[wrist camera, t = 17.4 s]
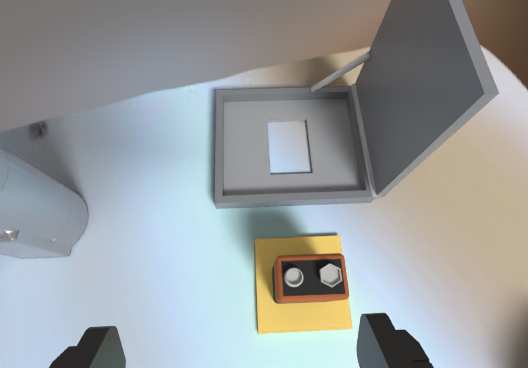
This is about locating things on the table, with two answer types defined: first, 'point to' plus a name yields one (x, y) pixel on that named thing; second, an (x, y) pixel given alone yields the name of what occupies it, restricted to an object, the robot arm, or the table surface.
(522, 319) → the table surface
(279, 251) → the yellow sticky note
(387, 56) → the equipment case
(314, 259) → the battery
